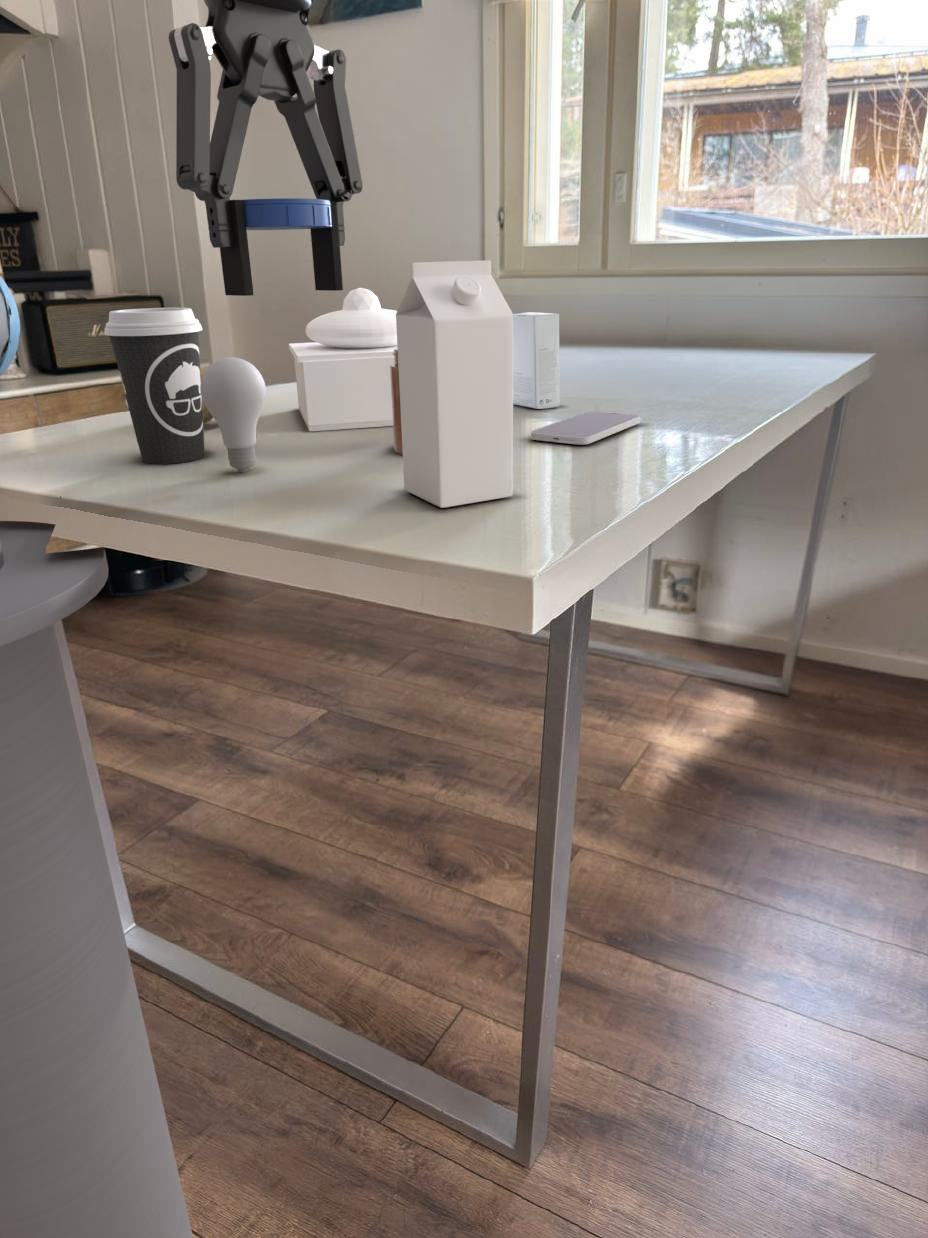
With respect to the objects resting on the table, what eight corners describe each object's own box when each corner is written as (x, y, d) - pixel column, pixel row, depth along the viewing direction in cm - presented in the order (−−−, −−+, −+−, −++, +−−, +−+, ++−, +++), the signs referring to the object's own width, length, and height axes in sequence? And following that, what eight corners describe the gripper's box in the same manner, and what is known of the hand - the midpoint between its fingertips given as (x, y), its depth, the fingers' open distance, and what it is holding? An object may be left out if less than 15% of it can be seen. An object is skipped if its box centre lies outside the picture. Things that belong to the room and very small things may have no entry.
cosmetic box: (561, 406, 117) (563, 312, 113) (534, 410, 115) (535, 314, 111) (534, 401, 122) (535, 310, 118) (508, 404, 120) (508, 312, 115)
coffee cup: (217, 445, 98) (198, 305, 93) (221, 462, 90) (201, 310, 84) (128, 452, 96) (103, 309, 90) (125, 470, 87) (97, 314, 82)
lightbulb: (260, 479, 83) (246, 360, 78) (201, 478, 84) (184, 361, 79) (283, 465, 88) (272, 353, 84) (228, 464, 89) (213, 353, 85)
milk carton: (404, 492, 77) (392, 262, 70) (473, 481, 80) (469, 260, 73) (440, 510, 71) (432, 262, 64) (513, 497, 74) (513, 259, 67)
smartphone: (526, 432, 97) (588, 410, 108) (526, 440, 97) (588, 417, 108) (585, 438, 93) (643, 415, 104) (585, 446, 93) (643, 422, 104)
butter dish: (448, 421, 109) (444, 287, 103) (304, 431, 105) (291, 292, 99) (421, 401, 124) (415, 283, 118) (295, 409, 121) (283, 287, 114)
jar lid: (350, 225, 66) (348, 199, 65) (253, 226, 62) (249, 197, 61) (303, 229, 72) (301, 205, 71) (211, 230, 68) (208, 203, 67)
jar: (428, 459, 89) (424, 353, 85) (379, 450, 94) (373, 349, 90) (478, 447, 94) (476, 346, 90) (429, 439, 99) (426, 342, 95)
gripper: (137, -114, 50) (194, 300, 59) (399, -40, 64) (413, 287, 73) (81, -80, 55) (141, 298, 64) (336, -18, 69) (356, 286, 78)
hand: (286, 292), depth 69 cm, fingers closed on jar lid, 8 cm apart
